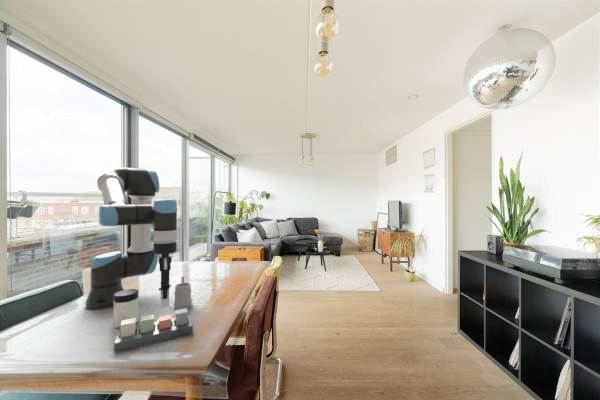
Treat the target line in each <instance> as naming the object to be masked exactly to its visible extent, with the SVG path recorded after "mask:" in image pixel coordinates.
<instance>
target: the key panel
mask: <svg viewBox="0 0 600 400" xmlns="http://www.w3.org/2000/svg"><path fill="white" fill-rule="evenodd" d="M193 328H194V327H193V322H192V319H191V316H190V314H188V323H187V324H182V325H178V326H176V324H175V316H174V317H171V327H169V328H164V329H159V320H154V331H150V332H145V333H141V334H140V323H139V324H136V333H135V335H132V336H127V337H122V338H121V327H119V328H118V330H117V334H116V337H115V341H114V343H113V344H114V346H113V347H114V351H113V352H114V354H115V353H120V352H123V351H124V352H125V351H129V350H132V349H136V348H141V347H145V346H149V345H150V346H151V345H154V344H159V343H162V342H167V341H171V340H174V339H178V338H179V339H180V338H183V337H187V336H191V335H193V333H194V332H193V330H194V329H193Z"/></svg>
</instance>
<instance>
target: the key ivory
mask: <svg viewBox="0 0 600 400" xmlns="http://www.w3.org/2000/svg"><path fill="white" fill-rule="evenodd" d="M136 325H137V322H136V318H132V319H126V320H122V322H121V327H120V328H121V338H122V337H127V336H132V335H135V333H136Z"/></svg>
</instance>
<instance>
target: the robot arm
mask: <svg viewBox="0 0 600 400" xmlns="http://www.w3.org/2000/svg"><path fill="white" fill-rule="evenodd" d="M96 183H97V188H98V189H99V191H100V192H101V196H102V199H103V204H102V205H100V206H99V209H98V221H99V224H100V226H103V227H119V226H130V227H131V228H130V246H129V247H128V248H127V249H126V253H122V251H110V252H106V253H102V254H98V255H95V256H94V257H92V259H91V261H90V290H89V293H88V296H87V297H86V301H85V309H87V310H100V309H107V308H112V307H113V300H114V294H115V293H116V292H119V291H122V290H125V289H124V287H123V285H122V281H123V280H122V279H125V278H134V277H138V276H139V277H140V276H145V275H150V274H153V273H154V272H155V271H156V268H157V265H158V264H159V271H160V287H159V288H158V291H160V309H163V308H167V307H168V308H169V307H170V288H171V287H172V285H171V284H170V271H171V270H172V269H171V268H172V267H171V265H172V256H170V254H174V253H176V252H177V249H178V246H177V239H178V229H177V227H178V225H177V223H178V222H177V219H178V206H177V205H178V203H177V201H176V200H175V199H154V198H155V196H156V194H157V193H159V192H160V180H159V176H158V173H157V172H156V170H154V169H147V168H137V167H134V168H133V167H123V166H119V167H113V168H109V169H107V170H105V171H104V172H102V173H101V174H100V175H99V176H98V178H97V181H96ZM126 193H127V194H128V195H126ZM127 196H128V197H129V198H130V199H131V204H130V203H129V200H128V198H127ZM153 199H154V201H153ZM152 203H153V204H152ZM152 225H153V232H152ZM152 237H153V245H151V241H152V239H151V238H152ZM158 255H161V257H158Z"/></svg>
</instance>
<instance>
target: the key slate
mask: <svg viewBox="0 0 600 400" xmlns="http://www.w3.org/2000/svg"><path fill="white" fill-rule="evenodd" d="M174 312H175V313H174V315H175V316H174V317H175V324H176V326H178V325H182V324H187V323H188V315H189V311H188V308H185V309H175V310H174Z"/></svg>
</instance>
